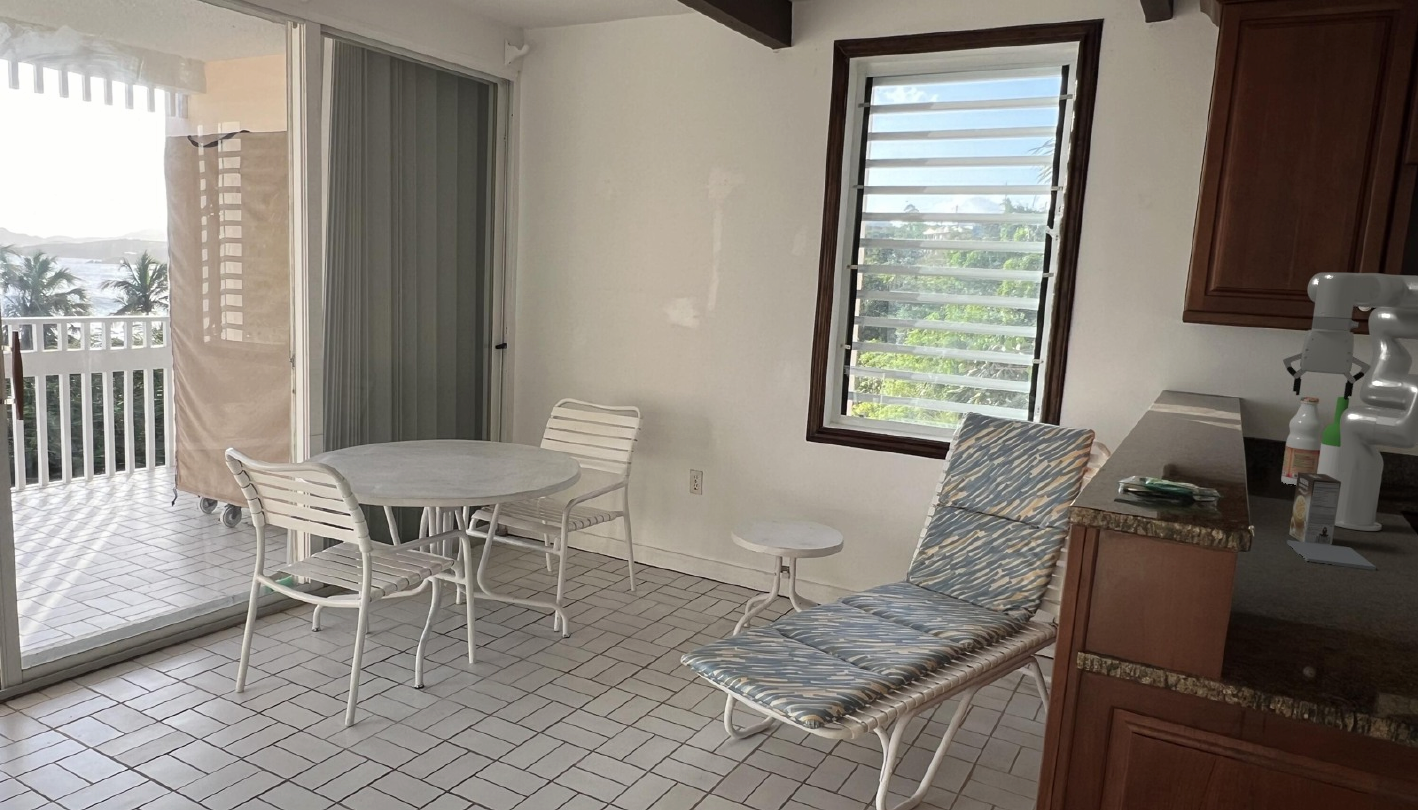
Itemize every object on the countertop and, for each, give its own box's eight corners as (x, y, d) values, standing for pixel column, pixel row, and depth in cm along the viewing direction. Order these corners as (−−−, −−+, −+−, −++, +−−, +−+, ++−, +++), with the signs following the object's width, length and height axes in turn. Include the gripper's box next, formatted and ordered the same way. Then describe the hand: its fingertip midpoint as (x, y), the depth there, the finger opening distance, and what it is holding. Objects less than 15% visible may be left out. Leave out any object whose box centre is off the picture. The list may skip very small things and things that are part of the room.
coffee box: (1287, 534, 227) (1296, 471, 225) (1316, 536, 226) (1325, 473, 223) (1303, 544, 218) (1313, 479, 216) (1333, 547, 217) (1343, 481, 214)
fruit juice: (1273, 481, 294) (1285, 395, 290) (1297, 481, 296) (1309, 396, 292) (1298, 487, 285) (1310, 399, 281) (1322, 487, 287) (1335, 400, 283)
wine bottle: (1351, 498, 273) (1365, 399, 269) (1325, 497, 273) (1339, 398, 269) (1333, 492, 281) (1347, 396, 277) (1308, 491, 281) (1322, 395, 277)
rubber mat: (1286, 543, 218) (1287, 540, 218) (1349, 550, 214) (1350, 547, 214) (1307, 562, 203) (1307, 558, 203) (1375, 570, 199) (1375, 566, 199)
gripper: (1375, 327, 213) (1364, 399, 215) (1288, 322, 222) (1279, 392, 225) (1377, 328, 207) (1366, 402, 209) (1287, 323, 216) (1278, 394, 218)
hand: (1321, 397), depth 217 cm, fingers open, 9 cm apart
